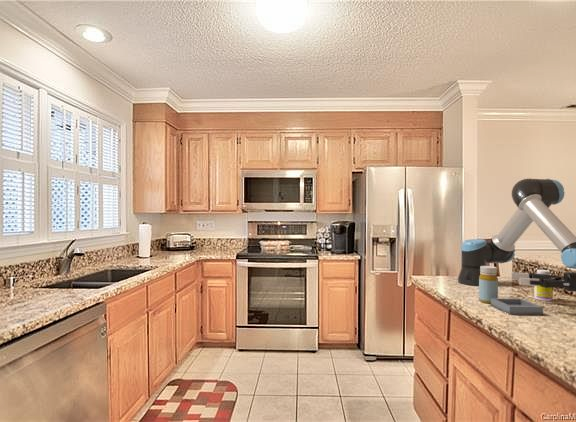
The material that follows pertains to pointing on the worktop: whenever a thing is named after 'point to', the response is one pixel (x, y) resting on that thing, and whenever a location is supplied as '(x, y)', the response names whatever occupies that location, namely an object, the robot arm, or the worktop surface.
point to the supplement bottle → (543, 289)
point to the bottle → (488, 284)
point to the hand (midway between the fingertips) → (515, 278)
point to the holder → (516, 306)
